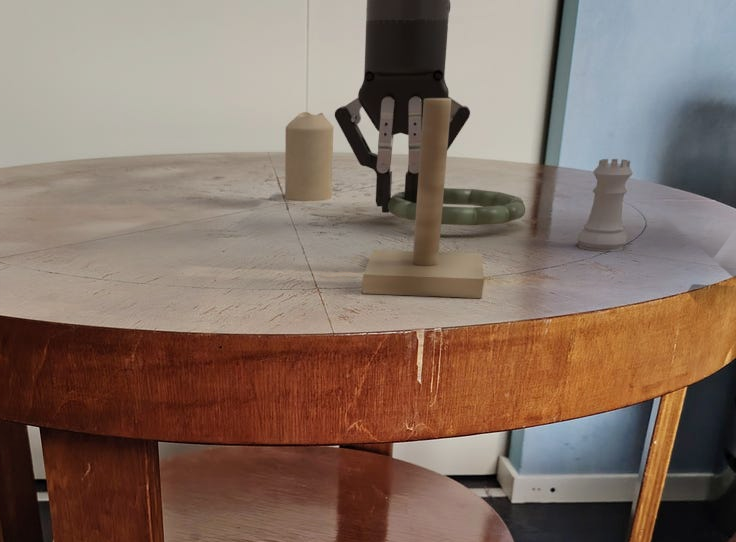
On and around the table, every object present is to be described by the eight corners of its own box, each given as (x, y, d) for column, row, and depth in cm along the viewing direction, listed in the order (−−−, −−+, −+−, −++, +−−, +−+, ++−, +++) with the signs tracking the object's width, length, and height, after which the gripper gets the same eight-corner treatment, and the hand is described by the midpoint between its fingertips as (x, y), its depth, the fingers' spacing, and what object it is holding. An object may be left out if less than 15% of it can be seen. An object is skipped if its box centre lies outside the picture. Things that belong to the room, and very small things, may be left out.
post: (479, 271, 76) (498, 95, 69) (481, 298, 68) (502, 102, 62) (372, 267, 77) (381, 95, 71) (362, 293, 69) (371, 102, 63)
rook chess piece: (619, 262, 78) (636, 164, 74) (567, 257, 80) (581, 162, 76) (630, 253, 81) (647, 159, 78) (580, 248, 83) (594, 156, 80)
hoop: (519, 205, 94) (521, 189, 93) (527, 229, 83) (529, 211, 82) (393, 201, 96) (394, 185, 96) (383, 223, 85) (384, 205, 84)
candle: (277, 202, 109) (278, 112, 104) (319, 199, 111) (321, 110, 106) (296, 209, 104) (297, 115, 100) (339, 205, 106) (342, 113, 101)
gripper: (327, 17, 81) (324, 217, 89) (484, 13, 78) (466, 219, 86) (338, 18, 87) (334, 204, 95) (482, 15, 85) (466, 206, 93)
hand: (397, 211), depth 91 cm, fingers closed on hoop, 1 cm apart
